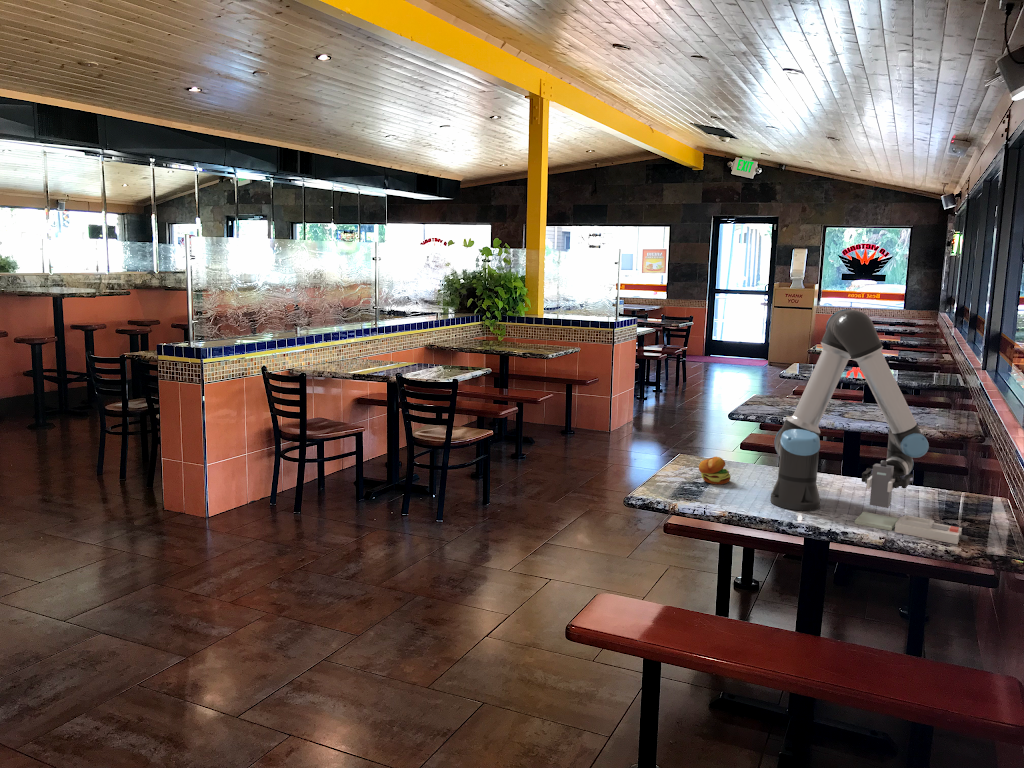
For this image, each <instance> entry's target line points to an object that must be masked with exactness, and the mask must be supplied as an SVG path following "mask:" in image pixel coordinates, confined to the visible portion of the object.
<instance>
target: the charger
mask: <svg viewBox="0 0 1024 768" xmlns="http://www.w3.org/2000/svg"><path fill="white" fill-rule="evenodd" d="M872 469H873V472H872V485H871V487H870V498H869V506H872V507H880V508H884V509H885V508H886V509H888V508H889V507H890V506H891V503H892V502H891V501H892V492H893V490H892V491H891V492H887V489H888V482H889V481H890V480H891V479H893V470H894V466H890V465H887V461H886V460H881V461H880V463H874V464H873V465H872Z"/></svg>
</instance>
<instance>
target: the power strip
mask: <svg viewBox="0 0 1024 768" xmlns="http://www.w3.org/2000/svg"><path fill="white" fill-rule="evenodd" d="M898 518H899V520H898V521H897V522H896V524H895V526H894V533H898V534H903V535H908V536H912V537H919V538H923V539H928V540H933V541H939V542H944V543H949V544H954V545H958V543H959V541H960V540H963V541H969V540H968V539H969V536H967V535H964V534H962V531H963V530H962V529H963V527H959V526H953V525H949V524H943V523H937V522H935V520H933V519H930V518H929V519H928V518H923V517H918V516H913V515H908V514H906V515H905V514H904V515H903V516H900V517H898Z"/></svg>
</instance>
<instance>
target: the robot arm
mask: <svg viewBox="0 0 1024 768" xmlns="http://www.w3.org/2000/svg"><path fill="white" fill-rule="evenodd" d="M820 344H821V347H822V351H821V353H820V355H819V357H818V359H817V361H816V363H815V366H814V368H813V371H812V373H811V375H810V377H809V378H808V382H807V384H806V387H805V388H804V390H803V393H802V395H801V397H800V400H799V401H798V403H797V406H796V408H795V409H794V410H795V411H794V412H793V414H792V416H788V417H786V418H785V420H784V423H783V425H782V427H781V428H780V429H779V430H778V432H777V433H776V435H775V438H774V449H775V452H776V454H777V455H778V457H779V463H778V473H777V479H776V482H775V485H774V487H773V489H772V491H771V494H770V499H769V500H770V503H771V504H773V505H774V506H777V507H779V508H783V509H788V510H793V511H802V512H803V511H805V512H808V511H816V510H819V509H820V508H821V498H820V497H821V496H820V492H819V488H818V484H817V479H818V468H819V467H818V466H819V457H820V456H819V455H820V449H821V440H820V435H821V430H820V428H819V425H820V423H821V420H822V418H823V416H824V414H825V412H826V410H827V408H828V406H829V403H830V401H831V399H832V397H833V394H834V393H835V390H836V388H837V386H838V384H839V381H840V380H841V377H842V375H843V373H844V370H845V369H846V366H847V365H848V363H849V361H850V359H851V360H852V361H854V362H856V363H857V365H858V367H859V369H860V370H861V373H862V375H863V377H864V380H865V381H866V383H867V385H868V387H869V389H870V391H871V393H872V395H873V397H874V399H875V401H876V403H877V405H878V407H879V409H880V411H881V413H882V415H883V417H884V419H885V421H886V423H887V425H888V442H887V452H886V460H885V461H887V465H890V466H894V470H893V479H891V480H890V481H889V482H888V489H887V492H891V491H892V492H893V490H894V489H899V488H900V487H901V489H907V487H908V486H909V485H910V484H913V483H914V475H913V473H911V472H912V471H913V469H914V459H917V458H921V457H923V456H925V455H926V454H927V452H928V451H929V448H930V446H929V445H930V444H929V442H928V439H927V437H926V436H925V435H924V434H923V433H922V432H921V430H920V427H919V426H918V424H917V421H916V419H915V417H914V415H913V413H912V411H911V409H910V407H909V405H908V402H907V400H906V399H905V396H904V394H903V393H902V391H901V389H900V387H899V385H898V383H897V380H896V378H895V377H894V375H893V372H892V370H891V369H890V366H889V364H888V362H887V359H886V358H885V356H884V354H883V352H882V350H883V348H884V346H883V344H882V342H881V339H880V337H879V335H878V332H877V329H876V327H875V325H874V323H873V321H872V319H871V318H870V317H869V315H868V314H866V313H864V312H862V311H860V310H855V309H851V308H846V309H844V308H843V309H840V310H838V311H836V312H835V313H833V314H832V315H831V316H830V317H829V318H828V320H827V322H826V326H825V332H824V334H823V336H822V338H821V341H820ZM913 458H914V459H913ZM865 469H866V470H865V471H863V472H862V473H861V482H862V483H865V484H866V485H865V486H866V487H865V488H866V490H867V489H868V490H870V489H871V485H872V472H873V468H870V467H866V468H865Z"/></svg>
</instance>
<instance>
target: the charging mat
mask: <svg viewBox="0 0 1024 768" xmlns="http://www.w3.org/2000/svg"><path fill="white" fill-rule="evenodd" d="M899 518H900V517H894V516H890V515H885V514H878V513H874V512H868V511H863V512H862V513H861V514H859V516H858V517H857V518H855V520H854V524H855V525H859V526H864V527H869V528H874V529H880V530H885V531H892V530H893V529H895V524H896V522H897V521H898V520H899Z"/></svg>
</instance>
